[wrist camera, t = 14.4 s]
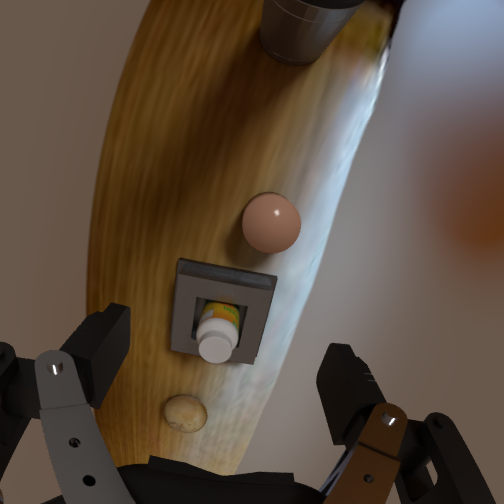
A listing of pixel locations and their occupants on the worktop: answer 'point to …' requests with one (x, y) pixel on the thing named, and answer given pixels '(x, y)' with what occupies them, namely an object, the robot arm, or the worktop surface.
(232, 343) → the supplement bottle
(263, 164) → the worktop surface
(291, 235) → the brown egg
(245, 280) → the collar socket
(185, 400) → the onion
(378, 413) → the robot arm
